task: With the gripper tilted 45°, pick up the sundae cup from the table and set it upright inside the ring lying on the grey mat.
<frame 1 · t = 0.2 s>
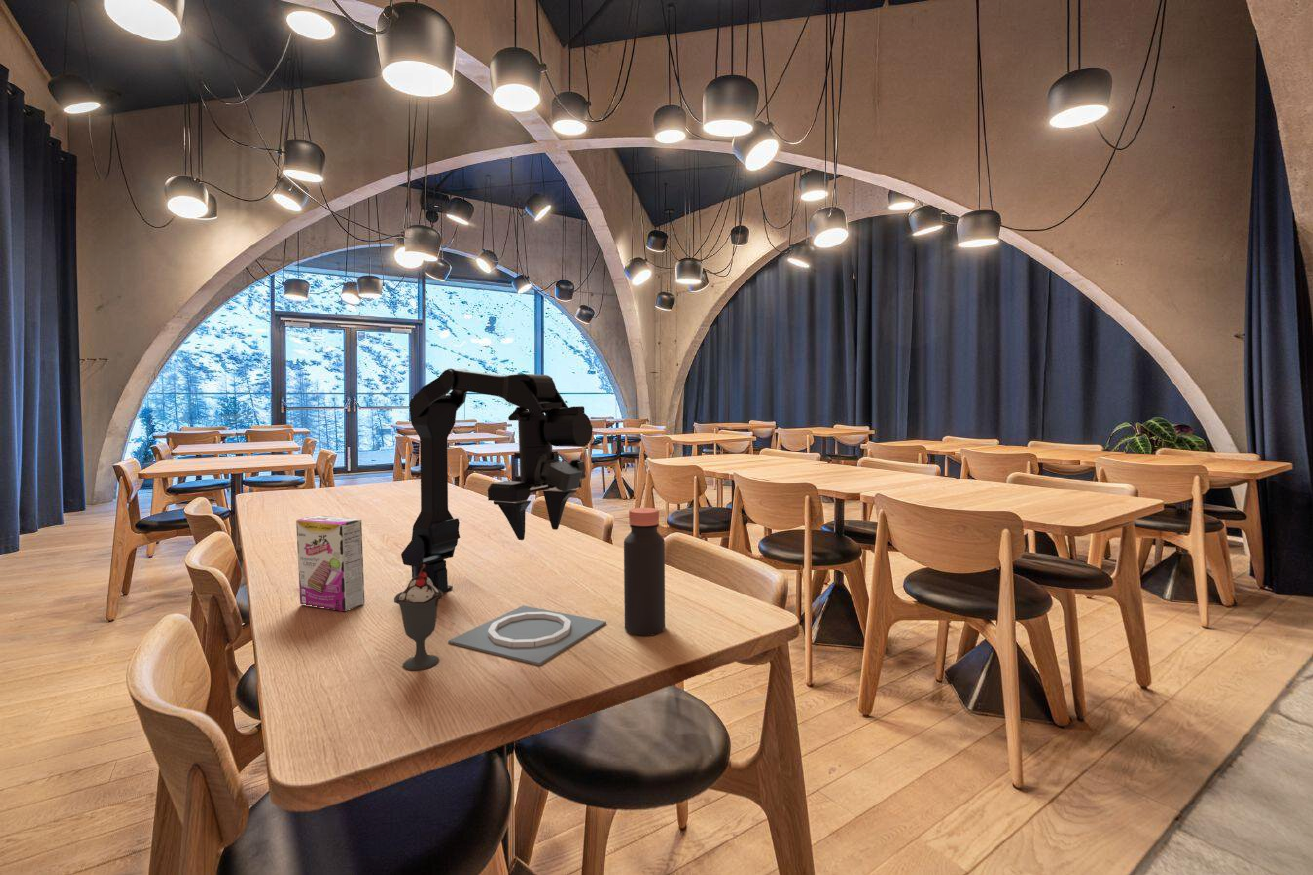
hand: (538, 534, 106), 15 cm above the table, tool pointing down, fingers open, 9 cm apart
ring mat: (530, 633, 98), on the table
bottle: (645, 629, 100), on the table
sundae: (421, 664, 87), on the table
candy bar box: (332, 606, 112), on the table
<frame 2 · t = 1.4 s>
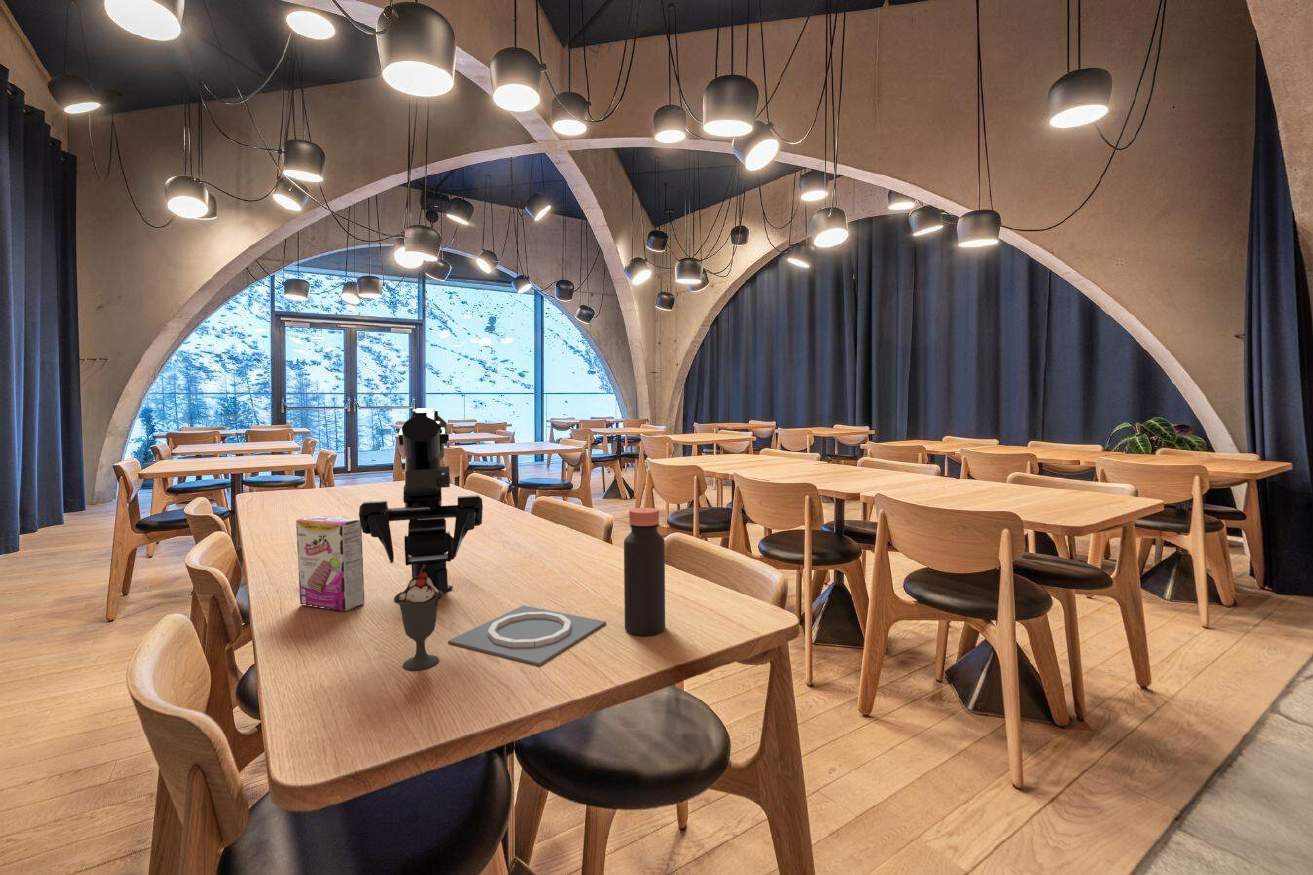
hand: (423, 558, 94), 13 cm above the table, tool tilted 45°, fingers open, 9 cm apart
nothing on the table moved.
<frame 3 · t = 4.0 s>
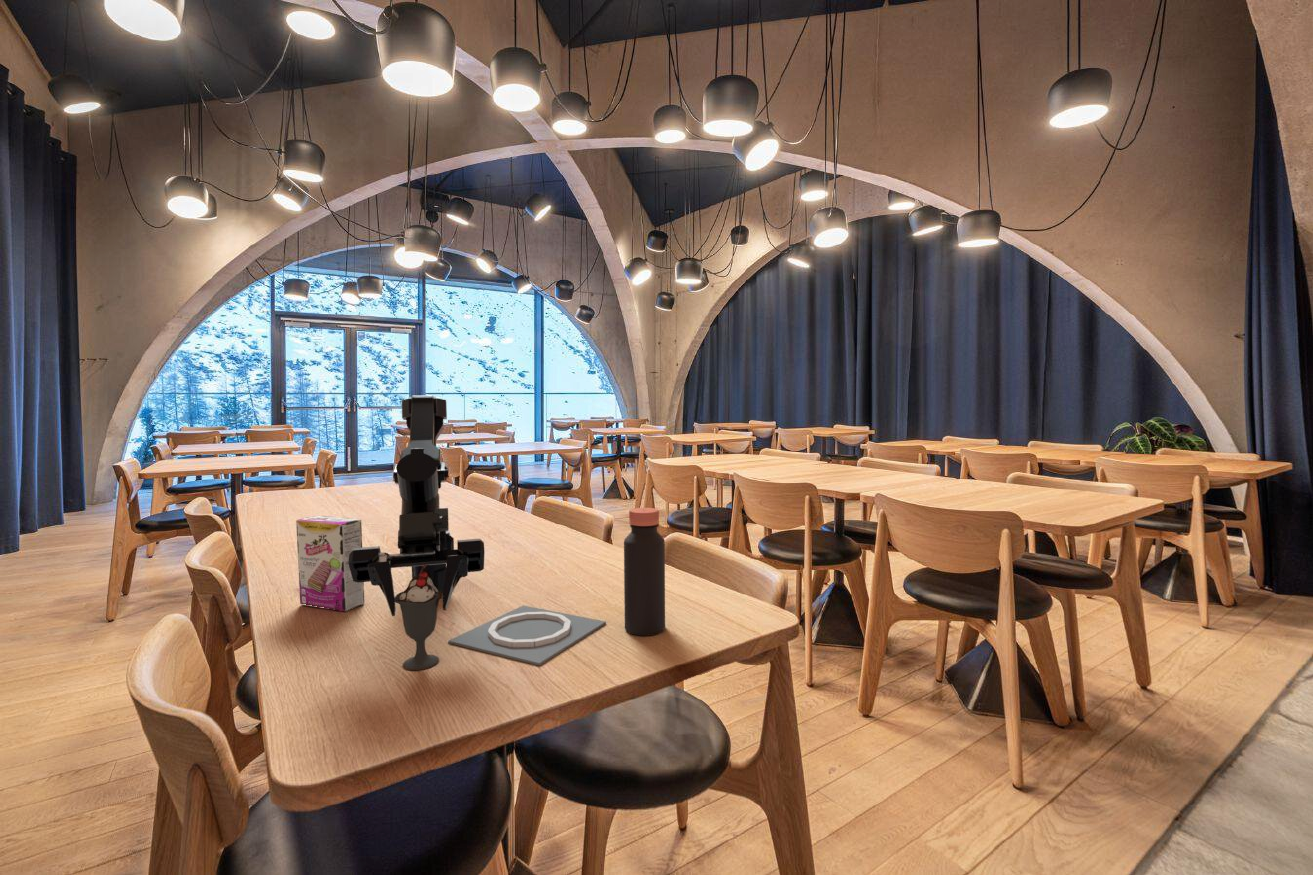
hand: (419, 611, 86), 8 cm above the table, tool tilted 45°, fingers closed on sundae, 6 cm apart
sundae: (421, 664, 87), on the table, touching gripper
everything else where it was.
when the fingers open (9 cm above the table, at t = 8.2 s): sundae stays where it is, resting on ring mat.
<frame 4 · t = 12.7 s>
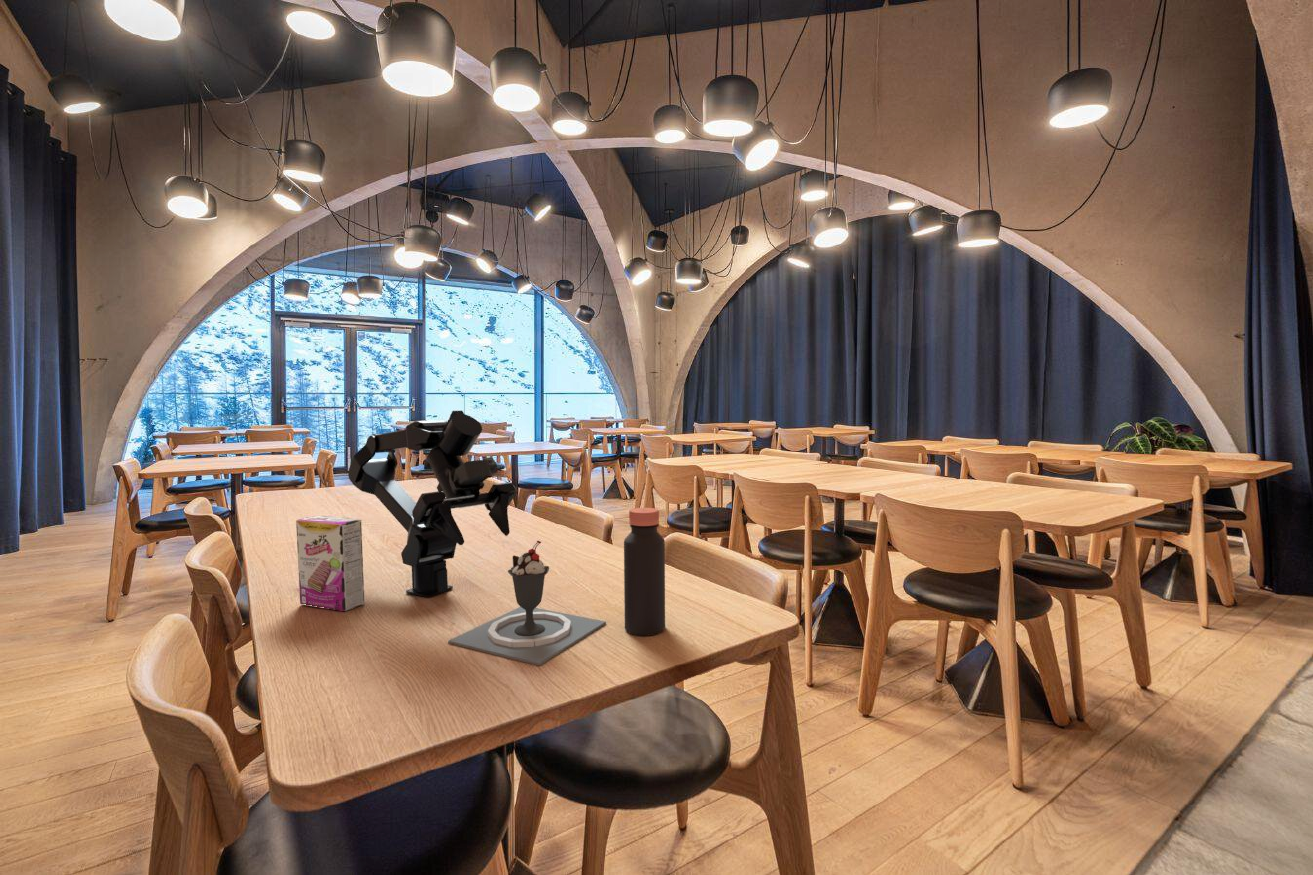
hand: (485, 538, 107), 14 cm above the table, tool tilted 45°, fingers open, 9 cm apart
sundae: (530, 631, 99), resting on ring mat
everything else where it was.
at the end: sundae 0.3 cm off-centre on the ring mat, point 0.2 cm above the ring mat's base; sundae tilted 0°; the gripper is holding nothing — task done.
